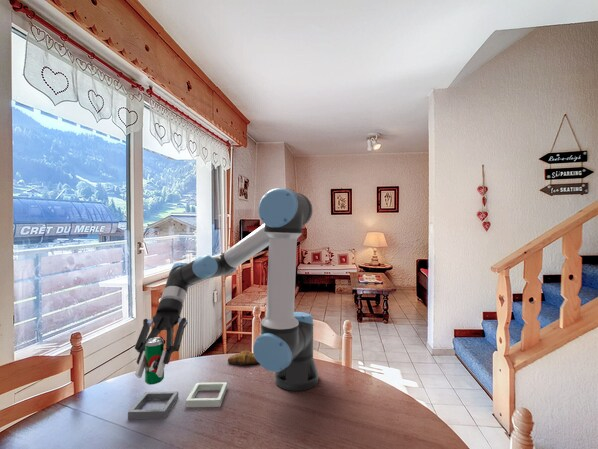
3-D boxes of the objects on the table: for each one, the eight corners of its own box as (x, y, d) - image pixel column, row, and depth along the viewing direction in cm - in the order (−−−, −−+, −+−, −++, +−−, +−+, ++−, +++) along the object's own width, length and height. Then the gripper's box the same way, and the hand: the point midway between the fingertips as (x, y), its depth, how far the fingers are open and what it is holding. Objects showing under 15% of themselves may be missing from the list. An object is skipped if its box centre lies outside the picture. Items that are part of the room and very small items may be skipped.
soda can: (168, 378, 87) (167, 337, 87) (154, 386, 82) (154, 343, 83) (154, 375, 89) (154, 336, 89) (140, 384, 84) (140, 342, 84)
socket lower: (227, 388, 96) (227, 382, 96) (220, 406, 86) (220, 399, 86) (196, 388, 95) (196, 382, 96) (185, 407, 85) (185, 400, 86)
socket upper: (178, 397, 90) (178, 391, 90) (164, 418, 80) (164, 411, 80) (145, 398, 90) (145, 391, 90) (127, 419, 80) (127, 412, 80)
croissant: (262, 359, 118) (262, 346, 118) (261, 366, 112) (261, 353, 112) (229, 359, 118) (229, 347, 118) (225, 367, 111) (225, 354, 111)
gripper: (200, 308, 102) (184, 379, 85) (148, 309, 101) (121, 381, 84) (196, 296, 97) (177, 369, 80) (140, 297, 96) (109, 372, 79)
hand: (148, 375), depth 82 cm, fingers closed on soda can, 5 cm apart
